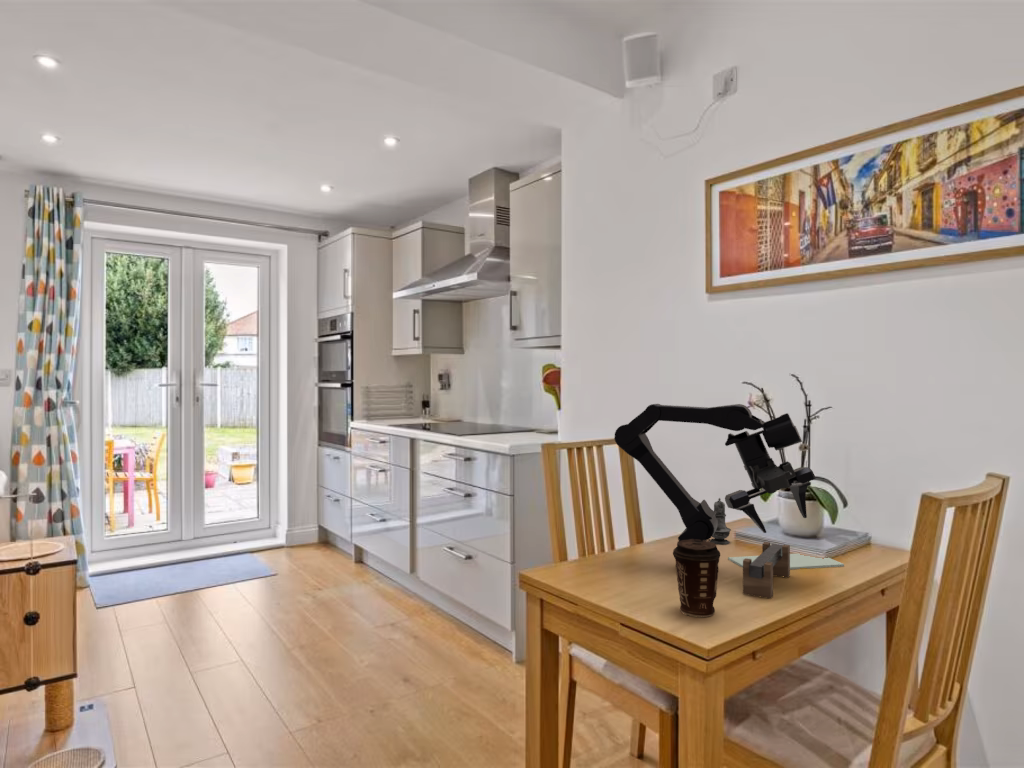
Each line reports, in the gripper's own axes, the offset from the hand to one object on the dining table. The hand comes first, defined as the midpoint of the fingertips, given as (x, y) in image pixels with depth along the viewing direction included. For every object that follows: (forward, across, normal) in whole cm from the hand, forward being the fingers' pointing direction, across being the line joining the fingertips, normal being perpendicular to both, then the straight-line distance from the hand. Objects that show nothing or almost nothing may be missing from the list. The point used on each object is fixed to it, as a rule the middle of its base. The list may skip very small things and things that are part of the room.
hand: (785, 525), depth 136 cm
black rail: (+6, -7, -1) cm, 10 cm away
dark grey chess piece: (+5, -9, +34) cm, 36 cm away
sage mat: (+11, +1, +16) cm, 19 cm away
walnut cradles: (+10, -9, 0) cm, 13 cm away
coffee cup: (+6, -26, -17) cm, 32 cm away
